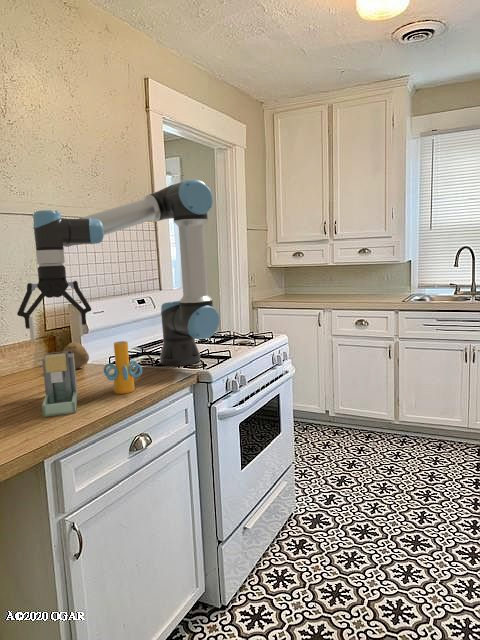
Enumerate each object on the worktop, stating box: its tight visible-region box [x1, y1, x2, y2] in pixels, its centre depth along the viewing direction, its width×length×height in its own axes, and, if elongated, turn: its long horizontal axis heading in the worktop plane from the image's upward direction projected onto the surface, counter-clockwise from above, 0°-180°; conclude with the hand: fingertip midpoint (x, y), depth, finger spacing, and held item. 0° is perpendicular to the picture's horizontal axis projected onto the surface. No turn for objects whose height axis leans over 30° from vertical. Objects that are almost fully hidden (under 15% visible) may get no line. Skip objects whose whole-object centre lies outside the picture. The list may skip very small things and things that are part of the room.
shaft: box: [49, 351, 72, 383], centre depth 140 cm, size 6×22×6 cm, turn 16°
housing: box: [42, 351, 79, 404], centre depth 139 cm, size 8×9×15 cm
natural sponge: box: [62, 341, 90, 370], centre depth 183 cm, size 9×9×10 cm
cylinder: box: [103, 340, 143, 395], centre depth 147 cm, size 12×10×15 cm
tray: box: [41, 392, 78, 418], centre depth 133 cm, size 8×11×3 cm
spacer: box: [45, 353, 67, 373], centre depth 131 cm, size 5×4×4 cm
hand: (57, 337), depth 145 cm, fingers open, 13 cm apart
